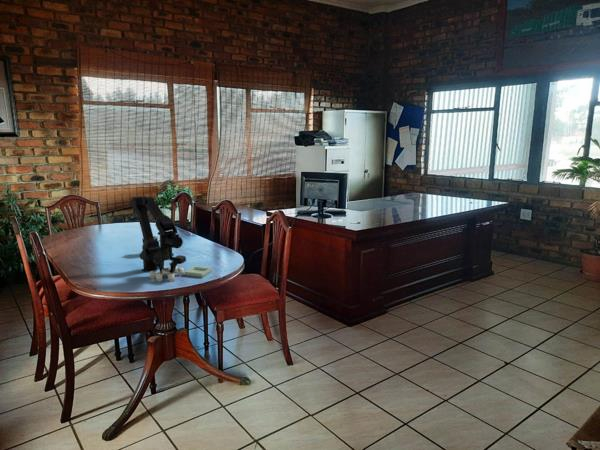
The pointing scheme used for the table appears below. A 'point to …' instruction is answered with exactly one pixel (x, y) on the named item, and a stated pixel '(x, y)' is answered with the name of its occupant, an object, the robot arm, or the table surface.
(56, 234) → the table surface
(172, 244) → the robot arm
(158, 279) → the nylon spacers
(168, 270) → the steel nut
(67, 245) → the table surface
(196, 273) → the parts tray
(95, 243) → the table surface
